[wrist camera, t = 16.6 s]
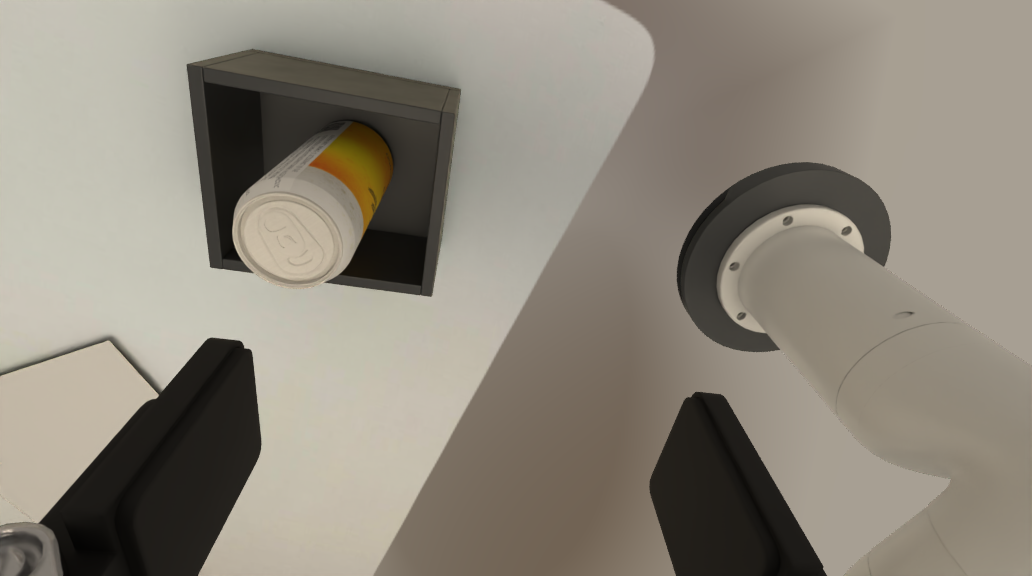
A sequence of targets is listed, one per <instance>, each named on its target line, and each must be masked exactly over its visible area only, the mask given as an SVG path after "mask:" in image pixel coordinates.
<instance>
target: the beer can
mask: <svg viewBox="0 0 1032 576" xmlns="http://www.w3.org/2000/svg"><path fill="white" fill-rule="evenodd" d="M392 174H393V160H392V156H391V153H390V150H389V148H388V146H387V144H386V143H385V141H384V140H383V139H382V138H381V137H380V136H379V135H378V134H377V133H376V132H375V131H374V130H372V129H371V128H369V127H367V126H365V125H363V124H360V123H357V122H353V121H338V122H334V123H331V124H328V125H327V126H325V127H323V128H322V129H321V130H319V131H318V132H317V133H316V134H315V135H313V136H312V137H311V138H310V139H309V140H307V141H306V142H305V143H304V144H302V145H301V146H300V147H299V148H298V149H296V150H295V151H294V152H293V153H291V154H290V155H289V156H288V157H287V158H285V159H284V160H283V161H282V162H280V163H279V164H278V165H277V166H276V167H274V168H273V169H272V170H271V171H270V172H268V173H267V174H266V175H265V176H263V177H262V178H261V179H260V180H259V181H257V182H256V183H255V184H254V185H252V186H251V187H250V188H249V189H248V190H247V191H246V192H245V193H244V194H243V195H242V196H241V198H240V199H239V201H238V203H237V205H236V208H235V211H234V218H233V229H232V235H233V242H234V245H235V248H236V251H237V253H238V255H239V256H240V258H241V260H242V261H243V262H244V263H245V265H246V266H247V267H248V268H249V269H250V270H251V271H252V272H253V273H255V274H256V275H257V276H259V277H260V278H262V279H264V280H265V281H267V282H269V283H272V284H274V285H277V286H280V287H285V288H291V289H304V288H310V287H314V286H317V285H319V284H321V283H323V282H326V281H329V280H331V279H333V278H334V277H336V276H338V275H339V274H340V273H341V272H342V271H343V270H344V269H345V268H346V267H347V265H348V264H349V262H350V261H351V259H352V257H353V255H354V253H355V251H356V249H357V247H358V245H359V243H360V241H361V239H362V237H363V235H364V233H365V231H366V229H367V227H368V225H369V223H370V221H371V219H372V217H373V215H374V213H375V211H376V209H377V207H378V205H379V203H380V201H381V199H382V197H383V195H384V193H385V191H386V189H387V187H388V185H389V183H390V181H391V178H392Z"/></svg>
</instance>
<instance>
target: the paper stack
mask: <svg viewBox="0 0 1032 576" xmlns="http://www.w3.org/2000/svg"><path fill="white" fill-rule="evenodd" d="M158 396H159V395H158V393H157V392H156V391H155V390H154V389H153V388H152V387H151V386H150V385H149V384H148V382H147V381H146V380H145V379H144V378H143V377H142V376H141V375H140V374H139V373H138V372H137V370H136V369H135V368H134V367H133V366H132V365H131V364H130V363H129V362H128V361H127V359H126V358H125V357H124V356H123V355H122V354H121V353H120V352H119V351H118V350H117V349H116V347H115V346H114V345H113V344H112V343H111V342H110V341H109V340H108V341H105V342H102V343H99V344H96V345H93V346H90V347H87V348H84V349H81V350H77V351H74V352H71V353H68V354H65V355H62V356H59V357H56V358H53V359H50V360H47V361H44V362H41V363H38V364H35V365H32V366H29V367H26V368H23V369H20V370H17V371H14V372H11V373H7V374H4V375H1V376H0V462H1V464H0V496H1V497H3V498H4V499H5V500H7V501H8V502H9V503H10V504H12V505H13V506H14V507H16V508H17V509H18V510H20V511H21V512H22V513H24V514H25V515H26V516H27V517H29V518H30V519H31V520H33V521H34V522H35V523H39V522H40V521H41V520H42V519H43V517H44V516H45V515H46V514H47V513H48V512H49V511H50V509H51V508H52V507H53V506H54V505H55V504H56V503H57V501H58V500H59V499H60V498H61V497H62V496H63V495H64V494H65V492H66V491H67V490H68V489H69V488H70V487H71V486H72V484H73V483H74V482H75V481H76V480H77V479H78V478H79V476H80V475H81V474H82V473H83V472H84V471H85V470H86V468H87V467H88V466H89V465H90V464H91V463H92V462H93V460H94V459H95V458H96V457H97V456H98V455H99V454H100V452H101V451H102V450H103V449H104V448H105V447H106V446H107V444H108V443H109V442H110V441H111V440H112V439H113V438H114V437H115V435H116V434H117V433H118V432H119V431H120V430H121V429H122V427H123V426H124V425H125V424H126V423H127V422H128V421H129V419H130V418H131V417H132V416H133V415H134V414H135V413H136V411H137V410H138V409H139V408H140V407H141V406H142V405H143V404H144V403H146V402H147V401H149V400H151V399H156V398H157V397H158Z"/></svg>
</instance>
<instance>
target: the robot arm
mask: <svg viewBox="0 0 1032 576" xmlns="http://www.w3.org/2000/svg"><path fill="white" fill-rule="evenodd" d="M716 287H717V293H718V298H719V301H720V303H721V305H722V307H723V308H724V310H725V311H726V313H727V314H728V315H729V317H730V318H731V319H732V320H733V321H734V322H736V323H737V324H739V325H740V326H742V327H744V328H746V329H749V330H752V331H755V332H761V333H767V334H768V336H769V337H770V338H771V339H772V340H773V342H774V343H775V344H776V345H777V346H778V348H779V349H780V350H781V351H782V352H783V353H784V355H785V356H786V357H787V358H788V359H789V361H790V362H791V363H792V364H793V365H794V367H795V368H796V369H797V370H798V371H799V372H800V374H801V375H802V376H803V377H804V379H805V380H806V381H807V382H808V383H809V384H810V386H811V387H812V388H813V389H814V390H815V392H816V393H817V394H818V395H819V396H820V398H821V399H822V400H823V401H824V402H825V404H826V405H827V406H828V407H829V408H830V410H831V411H832V412H833V413H834V414H835V415H836V417H837V418H838V419H839V420H840V421H841V422H842V423H843V425H844V426H845V427H846V428H847V429H848V431H849V432H850V433H851V434H852V435H853V436H854V438H855V439H856V440H858V442H859V443H860V444H861V445H863V446H864V447H865V448H866V449H868V450H869V451H870V452H871V453H873V454H874V455H876V456H878V457H880V458H881V459H883V460H885V461H887V462H889V463H891V464H894V465H897V466H900V467H902V468H905V469H908V470H912V471H916V472H919V473H923V474H928V475H933V476H938V477H943V478H948V479H951V481H950V484H949V485H948V487H947V488H946V489H945V490H944V491H943V492H942V493H941V494H940V495H939V496H938V497H936V499H934V500H933V501H932V502H930V503H929V504H928V506H927V507H926V508H925V509H924V510H922V511H921V512H920V513H918V514H917V515H916V516H914V517H913V518H912V519H910V520H909V521H908V522H907V523H905V524H904V525H903V526H901V527H900V528H899V529H897V530H896V531H895V532H894V533H892V534H891V535H890V536H889V537H887V538H886V539H884V540H883V541H882V542H880V543H879V544H878V545H876V546H875V547H874V548H873V549H872V550H871V551H870V552H868V553H867V554H866V555H864V556H863V557H862V558H861V559H859V560H858V561H857V562H856V563H855V564H854V565H853V566H852V567H851V568H850V569H849V570H848V571H847V572H846V573H845V575H844V576H1032V366H1031V365H1030V364H1028V363H1027V362H1025V361H1024V360H1022V359H1020V358H1019V357H1017V356H1016V355H1014V354H1013V353H1011V352H1010V351H1008V350H1007V349H1005V348H1004V347H1002V346H1001V345H999V344H997V343H996V342H995V341H993V340H992V339H990V338H989V337H987V336H986V335H984V334H983V333H981V332H980V331H978V330H977V329H975V328H973V327H972V326H970V325H969V324H967V323H965V322H964V321H963V320H961V319H960V318H958V317H957V316H955V315H954V314H952V313H951V312H949V311H948V310H947V309H945V308H944V307H942V306H940V305H939V304H938V303H936V302H935V301H933V300H932V299H930V298H929V297H927V296H925V295H924V294H923V293H921V292H920V291H918V290H917V289H916V288H914V287H913V286H911V285H910V284H908V283H907V282H905V281H904V280H902V279H901V278H899V277H898V276H896V275H895V274H893V273H892V272H890V271H889V270H887V269H886V268H885V267H883V266H882V265H880V264H879V263H877V262H876V261H874V260H873V259H871V258H870V257H868V256H867V255H865V254H864V245H863V240H862V236H861V234H860V232H859V230H858V229H857V227H856V225H855V224H854V223H853V222H852V221H851V220H850V219H849V218H847V217H846V216H844V215H843V214H841V213H839V212H838V211H836V210H833V209H831V208H829V207H826V206H821V205H815V204H799V205H794V206H789V207H785V208H782V209H779V210H777V211H774V212H771V213H769V214H767V215H766V216H764V217H762V218H760V219H758V220H757V221H755V222H754V223H753V224H751V225H750V226H749V227H748V228H746V229H745V230H744V231H743V232H742V233H741V234H740V235H739V236H738V237H737V238H736V239H735V240H734V242H733V243H732V244H731V246H730V247H729V249H728V250H727V251H726V253H725V255H724V257H723V259H722V262H721V264H720V267H719V271H718V274H717V286H716ZM260 451H261V433H260V423H259V414H258V404H257V394H256V384H255V375H254V365H253V355H252V351H251V350H250V349H244V345H243V343H242V342H241V341H237V340H228V339H219V338H209V339H207V340H206V341H205V342H204V343H203V345H202V346H201V347H200V348H199V349H198V350H197V352H196V353H195V354H194V355H193V356H192V357H191V359H190V360H189V361H188V362H187V363H186V364H185V366H184V367H183V368H182V369H181V370H180V371H179V373H178V374H177V375H176V376H175V377H174V378H173V380H172V381H171V382H170V383H169V384H168V385H167V387H166V388H165V389H164V390H163V391H162V392H161V394H160V395H159V396H158V397H157V398H156V399H151V400H149V401H147V402H146V403H144V404H143V405H142V406H141V407H140V408H139V409H138V410H137V411H136V413H135V414H134V415H133V416H132V417H131V418H130V419H129V421H128V422H127V423H126V424H125V425H124V426H123V427H122V429H121V430H120V431H119V432H118V433H117V434H116V435H115V437H114V438H113V439H112V440H111V441H110V442H109V443H108V444H107V446H106V447H105V448H104V449H103V450H102V451H101V452H100V454H99V455H98V456H97V457H96V458H95V459H94V460H93V462H92V463H91V464H90V465H89V466H88V467H87V468H86V470H85V471H84V472H83V473H82V474H81V475H80V476H79V478H78V479H77V480H76V481H75V482H74V483H73V484H72V486H71V487H70V488H69V489H68V490H67V491H66V492H65V494H64V495H63V496H62V497H61V498H60V499H59V500H58V501H57V503H56V504H55V505H54V506H53V507H52V508H51V509H50V511H49V512H48V513H47V514H46V515H45V516H44V517H43V519H42V520H41V521H40V522H39V523H31V522H20V523H10V524H5V525H1V526H0V576H198V574H199V572H200V570H201V568H202V566H203V564H204V562H205V560H206V559H207V557H208V555H209V553H210V551H211V549H212V547H213V545H214V543H215V541H216V539H217V537H218V535H219V534H220V532H221V530H222V528H223V526H224V524H225V522H226V520H227V518H228V516H229V514H230V512H231V510H232V508H233V507H234V505H235V503H236V501H237V499H238V497H239V495H240V493H241V491H242V489H243V487H244V485H245V483H246V482H247V480H248V478H249V476H250V474H251V472H252V470H253V468H254V466H255V464H256V462H257V460H258V458H259V455H260ZM650 494H651V498H652V501H653V504H654V507H655V510H656V514H657V517H658V520H659V523H660V526H661V530H662V533H663V536H664V539H665V542H666V545H667V549H668V552H669V555H670V558H671V561H672V564H673V567H674V571H675V574H676V576H827V575H826V573H825V572H824V570H823V565H822V563H821V562H820V560H819V558H818V556H817V555H816V553H815V551H814V549H813V548H812V546H811V544H810V543H809V541H808V539H807V537H806V536H805V534H804V532H803V531H802V529H801V527H800V526H799V524H798V522H797V520H796V519H795V517H794V515H793V514H792V512H791V510H790V508H789V506H788V505H787V503H786V501H785V500H784V498H783V496H782V494H781V493H780V491H779V489H778V488H777V486H776V484H775V482H774V481H773V479H772V477H771V476H770V474H769V472H768V470H767V469H766V467H765V465H764V464H763V462H762V460H761V458H760V457H759V455H758V453H757V451H756V450H755V448H754V446H753V445H752V443H751V441H750V439H749V438H748V436H747V434H746V433H745V431H744V429H743V427H742V426H741V424H740V422H739V421H738V419H737V417H736V415H735V414H734V412H733V410H732V408H731V407H730V405H729V403H728V402H727V400H726V398H725V397H724V396H723V395H721V394H712V393H703V392H695V393H694V394H693V395H692V397H691V398H689V397H688V398H686V399H685V400H684V402H683V404H682V406H681V409H680V411H679V413H678V416H677V418H676V420H675V423H674V425H673V427H672V430H671V432H670V434H669V437H668V439H667V441H666V444H665V446H664V448H663V450H662V453H661V455H660V457H659V460H658V462H657V464H656V467H655V469H654V471H653V474H652V476H651V479H650Z"/></svg>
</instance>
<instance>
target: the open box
mask: <svg viewBox="0 0 1032 576" xmlns="http://www.w3.org/2000/svg"><path fill="white" fill-rule="evenodd" d="M187 72H188V81H189V89H190V98H191V106H192V115H193V123H194V132H195V141H196V149H197V158H198V166H199V175H200V183H201V192H202V201H203V209H204V218H205V226H206V235H207V243H208V252H209V261H210V267H211V268H218V269H226V270H234V271H241V272H249V273H253V272H252V271H251V270H250V269H249V268H248V267H247V266H246V265H245V263H244V262H243V261H242V260H241V258H240V256H239V255H238V253H237V251H236V248H235V245H234V242H233V235H232V229H233V218H234V211H235V208H236V205H237V203H238V201H239V199H240V198H241V196H242V195H243V194H244V193H245V192H246V191H247V190H248V189H249V188H250V187H251V186H252V185H254V184H255V183H256V182H257V181H259V180H260V179H261V178H262V177H263V176H265V175H266V174H267V173H268V172H270V171H271V170H272V169H273V168H274V167H276V166H277V165H278V164H279V163H280V162H282V161H283V160H284V159H285V158H287V157H288V156H289V155H290V154H291V153H293V152H294V151H295V150H296V149H298V148H299V147H300V146H301V145H302V144H304V143H305V142H306V141H307V140H309V139H310V138H311V137H312V136H313V135H315V134H316V133H317V132H318V131H319V130H321V129H322V128H323V127H325V126H327V125H328V124H331V123H334V122H338V121H353V122H357V123H360V124H363V125H365V126H367V127H369V128H371V129H372V130H374V131H375V132H376V133H377V134H378V135H379V136H380V137H381V138H382V139H383V140H384V141H385V143H386V144H387V146H388V148H389V150H390V153H391V156H392V160H393V174H392V178H391V181H390V183H389V185H388V187H387V189H386V191H385V193H384V195H383V197H382V199H381V201H380V203H379V205H378V207H377V209H376V211H375V213H374V215H373V217H372V219H371V221H370V223H369V225H368V227H367V229H366V231H365V233H364V235H363V237H362V239H361V241H360V243H359V245H358V247H357V249H356V251H355V253H354V255H353V257H352V259H351V261H350V262H349V264H348V265H347V267H346V268H345V269H344V270H343V271H342V272H341V273H340V274H339V275H338V276H336V277H334V278H333V279H331V280H329V281H326V282H324V283H332V284H339V285H347V286H354V287H362V288H369V289H377V290H384V291H392V292H399V293H407V294H414V295H420V294H421V295H422V296H430V297H431V296H432V293H433V287H434V281H435V276H436V270H437V264H438V258H439V252H440V246H441V239H442V232H443V224H444V216H445V209H446V201H447V193H448V186H449V178H450V170H451V163H452V155H453V147H454V140H455V132H456V125H457V117H458V109H459V102H460V94H461V89H457V88H452V87H447V86H441V85H436V84H431V83H426V82H421V81H415V80H410V79H405V78H400V77H395V76H390V75H384V74H379V73H374V72H369V71H364V70H358V69H353V68H348V67H343V66H338V65H332V64H327V63H322V62H317V61H312V60H306V59H301V58H296V57H291V56H286V55H280V54H275V53H270V52H265V51H260V50H255V49H251V50H246V51H242V52H237V53H233V54H229V55H225V56H220V57H216V58H212V59H207V60H203V61H199V62H195V63H190V64H187Z"/></svg>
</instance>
